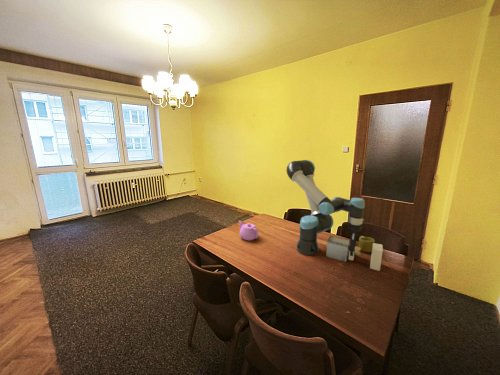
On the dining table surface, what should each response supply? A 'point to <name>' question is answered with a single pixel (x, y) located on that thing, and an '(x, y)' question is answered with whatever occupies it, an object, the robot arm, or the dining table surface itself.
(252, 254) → the dining table surface
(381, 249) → the socket block
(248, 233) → the teapot
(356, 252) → the tube
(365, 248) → the mug
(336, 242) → the pale grey box
